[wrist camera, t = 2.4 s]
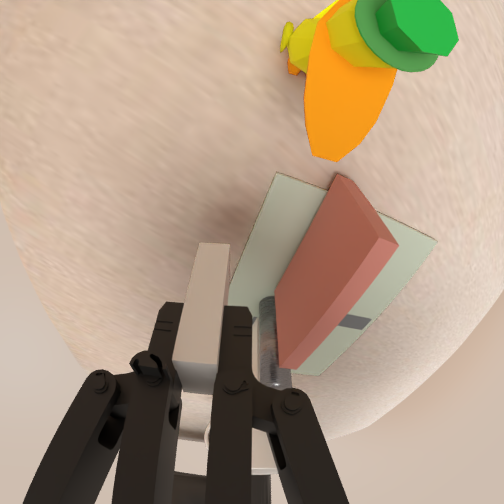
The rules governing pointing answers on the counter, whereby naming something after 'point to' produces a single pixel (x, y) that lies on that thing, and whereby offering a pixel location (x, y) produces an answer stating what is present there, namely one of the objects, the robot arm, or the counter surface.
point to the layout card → (285, 246)
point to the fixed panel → (255, 350)
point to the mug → (257, 453)
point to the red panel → (329, 271)
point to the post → (270, 348)
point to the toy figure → (361, 63)
